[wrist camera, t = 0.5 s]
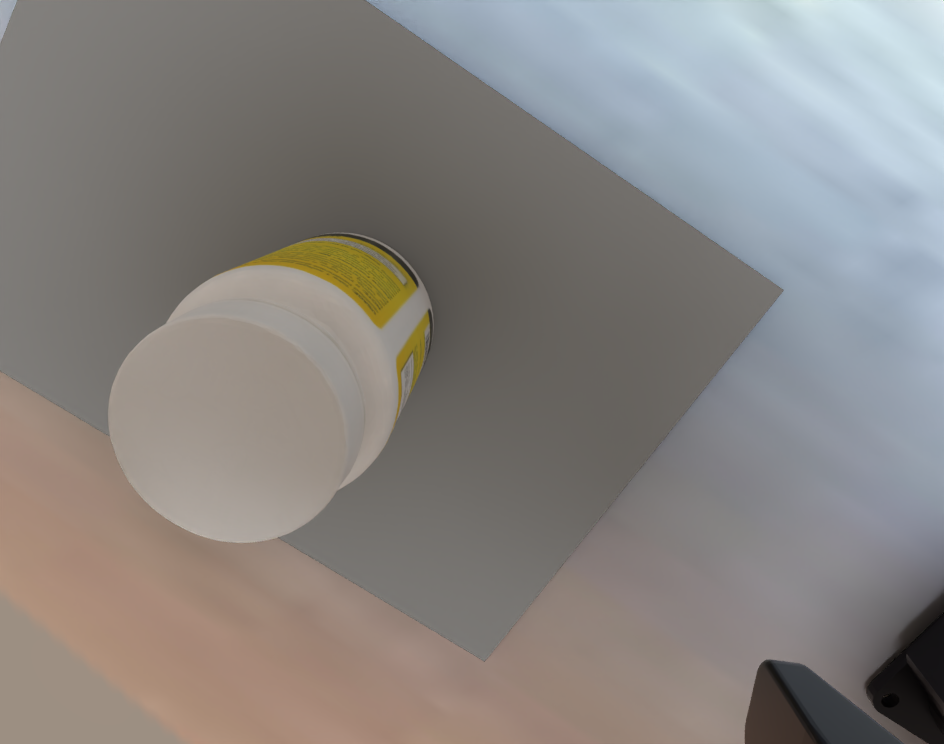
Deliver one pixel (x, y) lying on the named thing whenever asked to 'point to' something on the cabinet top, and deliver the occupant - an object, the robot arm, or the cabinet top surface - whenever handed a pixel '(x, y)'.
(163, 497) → the supplement bottle
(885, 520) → the cabinet top surface
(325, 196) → the flat gray panel
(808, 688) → the robot arm
